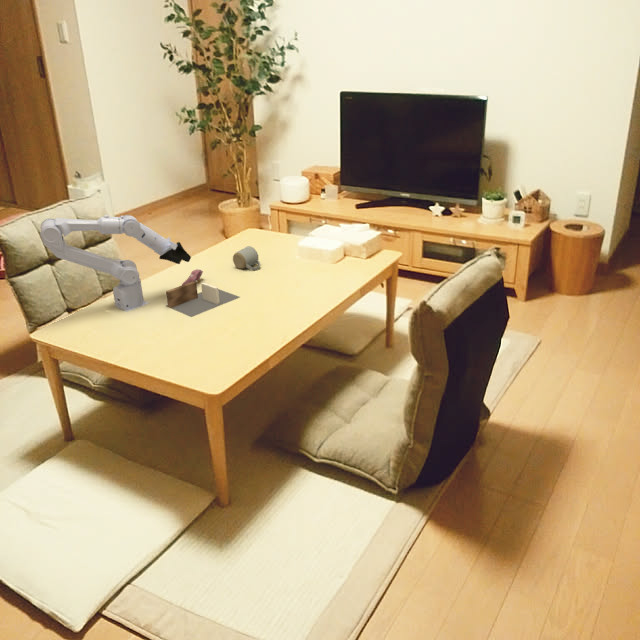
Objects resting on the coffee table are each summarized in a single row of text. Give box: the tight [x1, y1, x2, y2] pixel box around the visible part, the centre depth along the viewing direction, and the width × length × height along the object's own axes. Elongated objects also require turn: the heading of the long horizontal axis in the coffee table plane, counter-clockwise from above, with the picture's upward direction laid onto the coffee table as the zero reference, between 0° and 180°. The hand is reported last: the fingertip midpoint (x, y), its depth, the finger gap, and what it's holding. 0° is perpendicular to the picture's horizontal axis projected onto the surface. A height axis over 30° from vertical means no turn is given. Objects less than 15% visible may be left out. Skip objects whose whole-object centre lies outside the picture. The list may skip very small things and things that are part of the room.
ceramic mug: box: [232, 245, 261, 271], centre depth 268 cm, size 11×8×8 cm
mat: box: [165, 288, 241, 318], centre depth 237 cm, size 22×15×1 cm
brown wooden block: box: [165, 281, 199, 309], centre depth 236 cm, size 12×2×6 cm, turn 138°
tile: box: [200, 282, 220, 304], centre depth 236 cm, size 1×8×6 cm, turn 48°
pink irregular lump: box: [181, 268, 204, 286], centre depth 253 cm, size 10×5×7 cm, turn 169°
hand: (184, 260), depth 238 cm, fingers open, 7 cm apart
